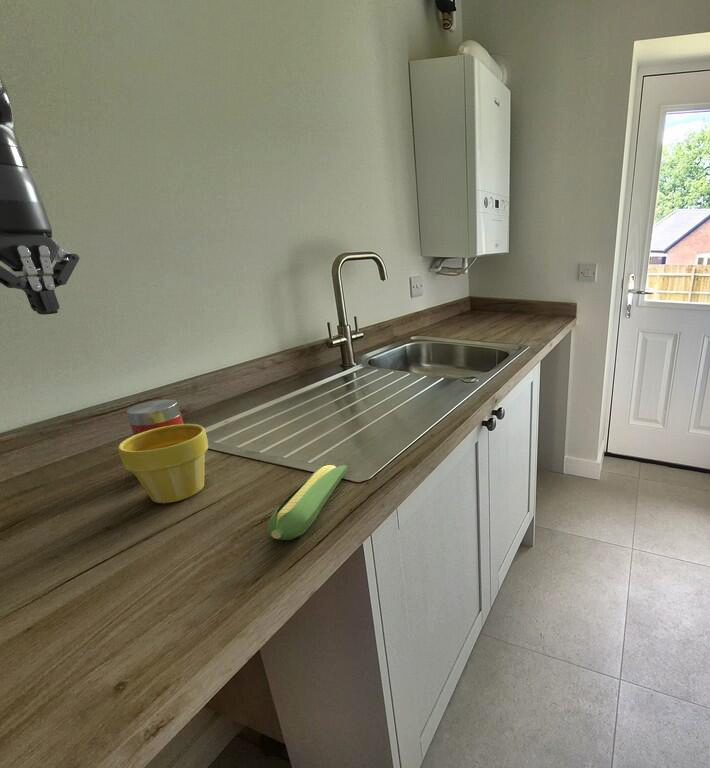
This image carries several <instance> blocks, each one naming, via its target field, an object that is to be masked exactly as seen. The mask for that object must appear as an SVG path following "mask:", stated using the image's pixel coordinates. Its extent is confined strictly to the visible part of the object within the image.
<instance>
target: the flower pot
mask: <svg viewBox="0 0 710 768" xmlns="http://www.w3.org/2000/svg"><path fill="white" fill-rule="evenodd" d="M208 449H209V441H208V436H207V432H206V429H205V427H203V426H202V425H200V424H197V423H196V424H194V423H184V424H178V425H171V426H165V427H160V428H156V429H152V430H148V431H145V432H142V433H139V434H136V435H134V434H133V435H132V436H130V437H128V438H126V439H124V440H123V441H121V442H120V443H119V445H118V447H117V451H118V454H119V457H120V460H121V462H122V465H123V467H124V469H125V470H127V471H129V472H132V473H133V474H134V476H135V477H136V479H137V480H138V482H139V483H140V485H141V486H142V487H143V489H144V490H145V492H146V493H147V495H148V496H149V498H150V499H151V500H152V502H154V503H157V504H171V503H175V502H180V501H182V500H187V499H189V498H191V497H193V496H195V495H196V494H198V493H199V492H201V490H203V489H204V487H205V455H206V452H207V451H208Z"/></svg>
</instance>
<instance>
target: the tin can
mask: <svg viewBox="0 0 710 768" xmlns="http://www.w3.org/2000/svg"><path fill="white" fill-rule="evenodd" d="M126 413H127V417H128V419H129V425H130V428H131V431H132V434H133V436H134V435H136V434H139V433H142V432H145V431H148V430H152V429H156V428H160V427H165V426H171V425H178V424H185V422H184V418H183V415H182V413H181V411H180V407H179V404H178V402H177V400H175V399H156V400H151V401H146V402H143V403H139V404H136V405H133V406H131V407H129V408H128V409H127V410H126Z"/></svg>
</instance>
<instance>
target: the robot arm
mask: <svg viewBox="0 0 710 768" xmlns="http://www.w3.org/2000/svg"><path fill="white" fill-rule="evenodd" d="M43 202H44V201H43V199H42V196H41V194H40V190H39V188H38V185H37V183H36V181H35V179H34V177H33V175H32V173H31V171H30V169H29V165H28V162H27V160H26V156H25V154H24V151H23V148H22V146H21V143H20V141H19V138H18V136H17V133H16V123H15V118H14V113H13V106H12V102H11V98H10V94H9V91H8V88H7V86H6V84H5V81H4V80H3V78H2V76H1V75H0V262H1V263H2V264H4V265H5V266H7V268H8V269H9V270H8V269H6V268H5V267H3V266H2V265H0V284H1V285H3V286H4V287H6V288H8V289H16V290H21V291H23V292H24V293H25V295H26V298H27V300H28V301H27V302H28V303H29V305H30V308H31V310H32V311H33V312H36V313H37V314H38V315H41V316H42V315H43V316H46V315H53V314H54V315H55V314H58V312H59V310H60V303H59V301H58V298H57V295H56V292H55V290H56V289H57V288H58V287H60V286H65V285H66V284H67V283H68V280H70V277H71V276H72V274H73V272H74V270H75V268H76V267H77V265H78V263H79V261H80V259H81V258H80V256H79V255H78V254H77V253H70V252H68V251H66V250H64V249H62V248H61V247H60V244H59V243H58V241H57V240H56V239H55V238H54V237H53V229H52V225H51V223H50V220H49V217H48V213H47V210H46V207H45V205H44V203H43ZM54 261H55V264H54V265H53V263H54ZM52 265H53V266H52Z"/></svg>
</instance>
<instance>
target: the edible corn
mask: <svg viewBox="0 0 710 768" xmlns="http://www.w3.org/2000/svg"><path fill="white" fill-rule="evenodd" d="M327 462H328V460H325V461H324V462H323V463H322V464H321V465H320V466H319V467H318V468H317V469H316V470H315V471H314V472H313V473H312V474H310V476H309V477H308V478H306V480H304V482H303V483H302V484H301V485H300V486H298V487H297V488H296V490H295V491H294V492H292V493H291V494H290V495H289V496H288V497H287V498H286V499H284V501H283V502H282V503H281V504H280V505H279V506H278V507H277V508H276V509H274V511H273V513H272V514H271V516H270V518H269V520H268V535H269V536H270V537H271V538H272V539H275V540H281V541H288V540H294V539H296V538H299V537H300V536H302V535H304V534H305V533H306V532H307V531H308V530H309V528H310V527H311V526H312V524H313V523H314V522H315V520H316V519H317V517H318V516H319V514H320V513H321V511H322V509H323V508H324V507H325V505H326V503H328V500H329V499H330V497H331V496H332V494H333V493H334V491H335V489H336V488H337V486H338V485H339V483H340V482H341V481H342V479H343V478H344V476H345V475H346V474H347V472H348V470H349V469H350V467H348V465H345V464H342V465H339V466H335V465H334V464H327Z"/></svg>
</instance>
